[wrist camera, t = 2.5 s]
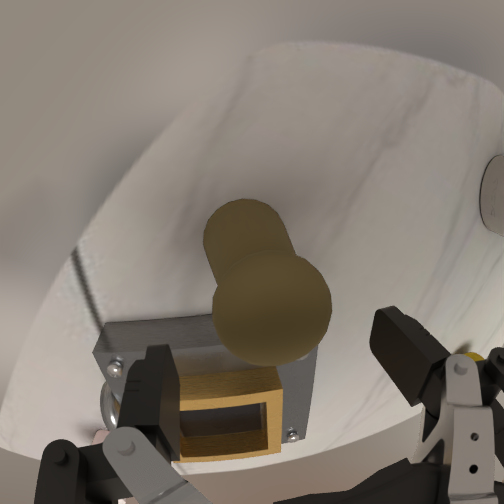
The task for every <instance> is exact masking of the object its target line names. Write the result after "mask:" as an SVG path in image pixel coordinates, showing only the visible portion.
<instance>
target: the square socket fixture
mask: <svg viewBox="0 0 504 504" xmlns="http://www.w3.org/2000/svg"><path fill="white" fill-rule="evenodd" d="M156 344H169V346H170V349H171V352H172V356H173V359H174V362H175V365H176V369H177V372H178V375H179V381H180V461H173V462H174V463H187V462H209V461H222V460H232V459H241V458H249V457H256V456H262V455H268V454H274V453H280V452H281V444H283V443H288V442H290V443H292V442H296V441H298V440H302V439H305V436H306V430H307V424H308V418H309V411H310V405H311V398H312V391H313V383H314V375H315V367H316V359H317V350H318V345H317V346H316V347H315V348H314V349H312V350H311V351H310V352H309V353H308V354H306V355H305V356H303V357H301V358H299V359H297V360H296V361H294V362H290V363H287V364H283V365H280V366H259V365H254V364H249V363H248V362H246V361H244V360H242V359H240V358H238V357H236V356H235V355H233V354H232V353H231V352H230V351H229V350H228V349H227V348H226V347H225V346H224V345H223V344H222V343H221V341H220V339H219V337H218V335H217V332H216V329H215V327H214V324H213V320H212V314H211V315H201V316H191V317H181V318H169V319H157V320H144V321H129V322H112V323H105V325H104V327H103V329H102V332H101V334H100V336H99V338H98V341H97V343H96V345H95V348H94V350H93V352H92V353H93V355H94V357H95V359H96V361H97V363H98V365H99V367H100V369H101V371H102V373H103V375H104V377H105V379H106V382H105V383H104V385H103V387H102V390H101V396H100V407H101V414H102V418H103V421H104V423H105V425H106V427H107V429H108V430H109V431H110V432H111V431H113V430H115V429H116V427H117V423H118V417H119V412H120V407H121V402H122V397H123V392H124V388H125V383H126V378H127V374H128V370H129V368H130V367H131V366H132V364H133V363H134V362H135V361H136V360H140V359H145V355H146V350H147V346H148V345H156Z"/></svg>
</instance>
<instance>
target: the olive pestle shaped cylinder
mask: <svg viewBox="0 0 504 504" xmlns="http://www.w3.org/2000/svg"><path fill="white" fill-rule="evenodd" d="M203 245H204V249H205V252H206V255H207V258H208V261H209V263H210V266H211V269H212V271H213V274H214V277H215V279H216V282H217V285H218V287H217V289H216V291H215V294H214V296H213V308H212V320H213V324H214V327H215V329H216V332H217V335H218V337H219V339H220V341H221V343H222V344H223V345H224V346H225V347H226V348H227V349H228V350H229V351H230V352H231V353H232V354H233V355H235V356H236V357H238V358H240V359H242V360H244V361H246V362H248V363H249V364H254V365H259V366H280V365H283V364H287V363H290V362H294V361H296V360H297V359H299V358H301V357H303V356H305V355H306V354H308V353H309V352H310V351H311V350H312V349H314V348H315V347H316V346H317V345H318V344H319V343H320V341H321V340H322V338H323V336H324V335H325V333H326V332H327V329H328V325H329V321H330V318H331V314H332V302H331V294H330V291H329V288H328V286H327V284H326V282H325V280H324V278H323V276H322V275H321V273H320V272H319V271H318V270H317V269H316V268H315V267H314V266H312V265H311V264H310V263H309V262H308V261H307V260H306V259H304V258H302V257H299V256H296V254H295V251H294V249H293V246H292V244H291V241H290V239H289V236H288V234H287V231H286V229H285V226H284V224H283V222H282V220H281V219H280V217H279V215H278V213H277V212H276V211H274V210H273V209H272V208H271V207H270V206H269V205H267V204H265V203H262V202H260V201H257V200H252V199H240V200H236V201H232V202H228V203H227V204H225V205H224V206H222V207H220V208H219V209H217V210H216V212H215V213H214V214H213V215H212V216H211V218H210V219H209V220H208V223H207V225H206V228H205V230H204V240H203Z"/></svg>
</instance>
